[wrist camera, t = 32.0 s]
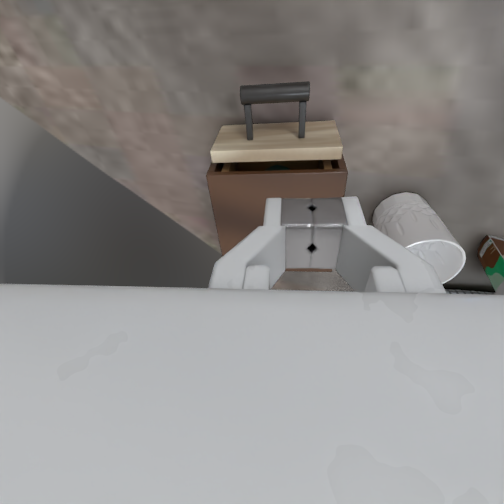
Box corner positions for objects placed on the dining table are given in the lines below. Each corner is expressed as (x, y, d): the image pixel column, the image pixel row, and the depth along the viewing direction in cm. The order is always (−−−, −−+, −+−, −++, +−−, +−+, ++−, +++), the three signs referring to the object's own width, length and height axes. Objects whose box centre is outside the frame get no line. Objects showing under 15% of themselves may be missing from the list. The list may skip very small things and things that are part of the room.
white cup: (355, 218, 40) (369, 270, 33) (404, 176, 35) (434, 227, 28) (393, 244, 42) (415, 299, 35) (445, 208, 38) (482, 263, 30)
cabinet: (220, 140, 34) (205, 175, 28) (337, 136, 33) (348, 172, 27) (234, 229, 43) (225, 270, 37) (325, 229, 42) (331, 272, 36)
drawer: (215, 76, 29) (200, 96, 24) (340, 68, 28) (351, 87, 23) (234, 216, 41) (227, 248, 36) (324, 215, 39) (328, 249, 34)
